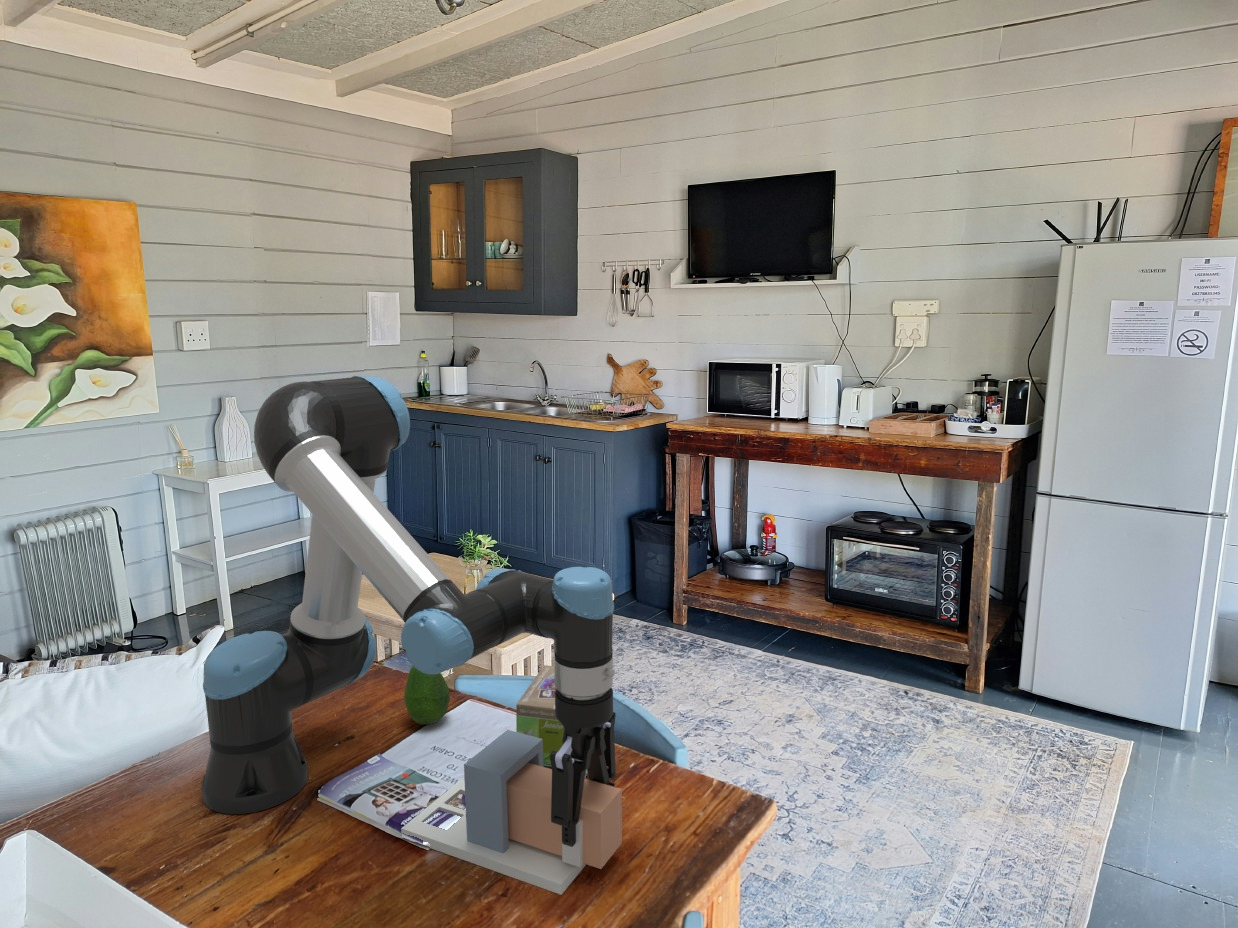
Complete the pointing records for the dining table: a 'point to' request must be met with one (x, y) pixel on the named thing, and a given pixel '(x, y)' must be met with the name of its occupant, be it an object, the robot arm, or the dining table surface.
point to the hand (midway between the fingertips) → (585, 847)
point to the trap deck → (493, 818)
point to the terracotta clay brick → (536, 829)
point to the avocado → (426, 696)
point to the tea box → (541, 714)
